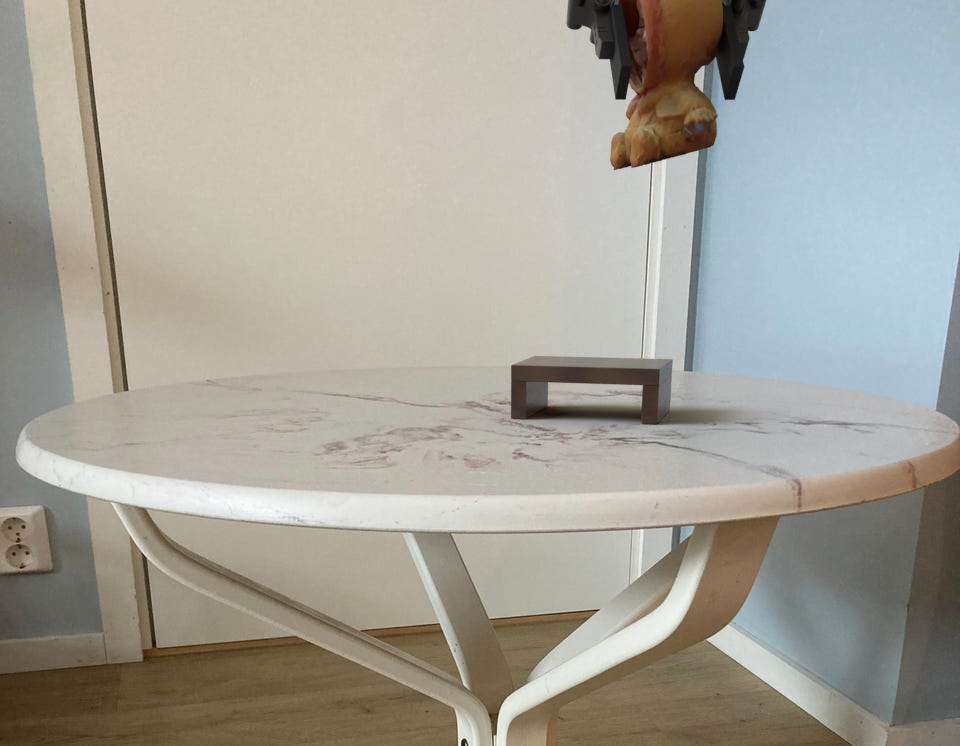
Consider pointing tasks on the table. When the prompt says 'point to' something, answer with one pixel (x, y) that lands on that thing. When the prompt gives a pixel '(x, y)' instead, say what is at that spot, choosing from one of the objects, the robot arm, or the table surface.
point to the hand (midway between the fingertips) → (679, 83)
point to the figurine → (668, 80)
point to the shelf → (590, 381)
